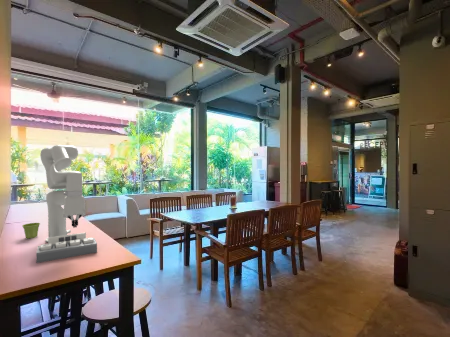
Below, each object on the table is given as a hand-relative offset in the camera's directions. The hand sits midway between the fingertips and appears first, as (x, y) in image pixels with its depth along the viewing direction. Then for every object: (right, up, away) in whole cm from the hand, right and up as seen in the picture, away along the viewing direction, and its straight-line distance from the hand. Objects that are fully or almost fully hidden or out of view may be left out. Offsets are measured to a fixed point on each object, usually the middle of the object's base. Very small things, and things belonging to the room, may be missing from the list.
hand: (74, 227), depth 137 cm
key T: (+5, -11, +4) cm, 13 cm away
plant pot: (-46, -14, +28) cm, 56 cm away
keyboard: (-3, -14, -1) cm, 15 cm away
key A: (-11, -11, -7) cm, 17 cm away
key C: (0, -11, 0) cm, 11 cm away
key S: (-6, -11, -3) cm, 13 cm away
